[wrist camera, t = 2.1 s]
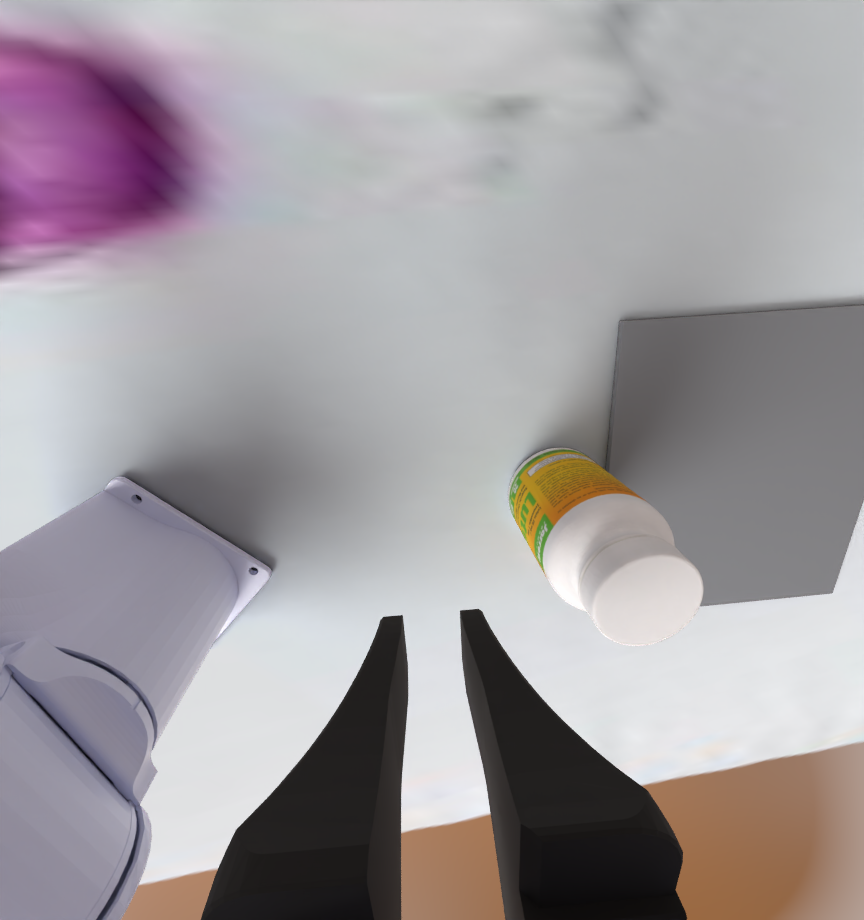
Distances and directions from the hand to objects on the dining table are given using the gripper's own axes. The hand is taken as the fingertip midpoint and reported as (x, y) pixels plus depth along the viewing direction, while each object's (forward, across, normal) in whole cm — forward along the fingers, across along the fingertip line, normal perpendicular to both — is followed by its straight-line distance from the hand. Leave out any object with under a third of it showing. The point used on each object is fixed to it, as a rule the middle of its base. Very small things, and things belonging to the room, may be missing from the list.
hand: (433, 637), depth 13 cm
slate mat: (+11, -18, 0) cm, 21 cm away
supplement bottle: (+11, -7, 0) cm, 13 cm away
